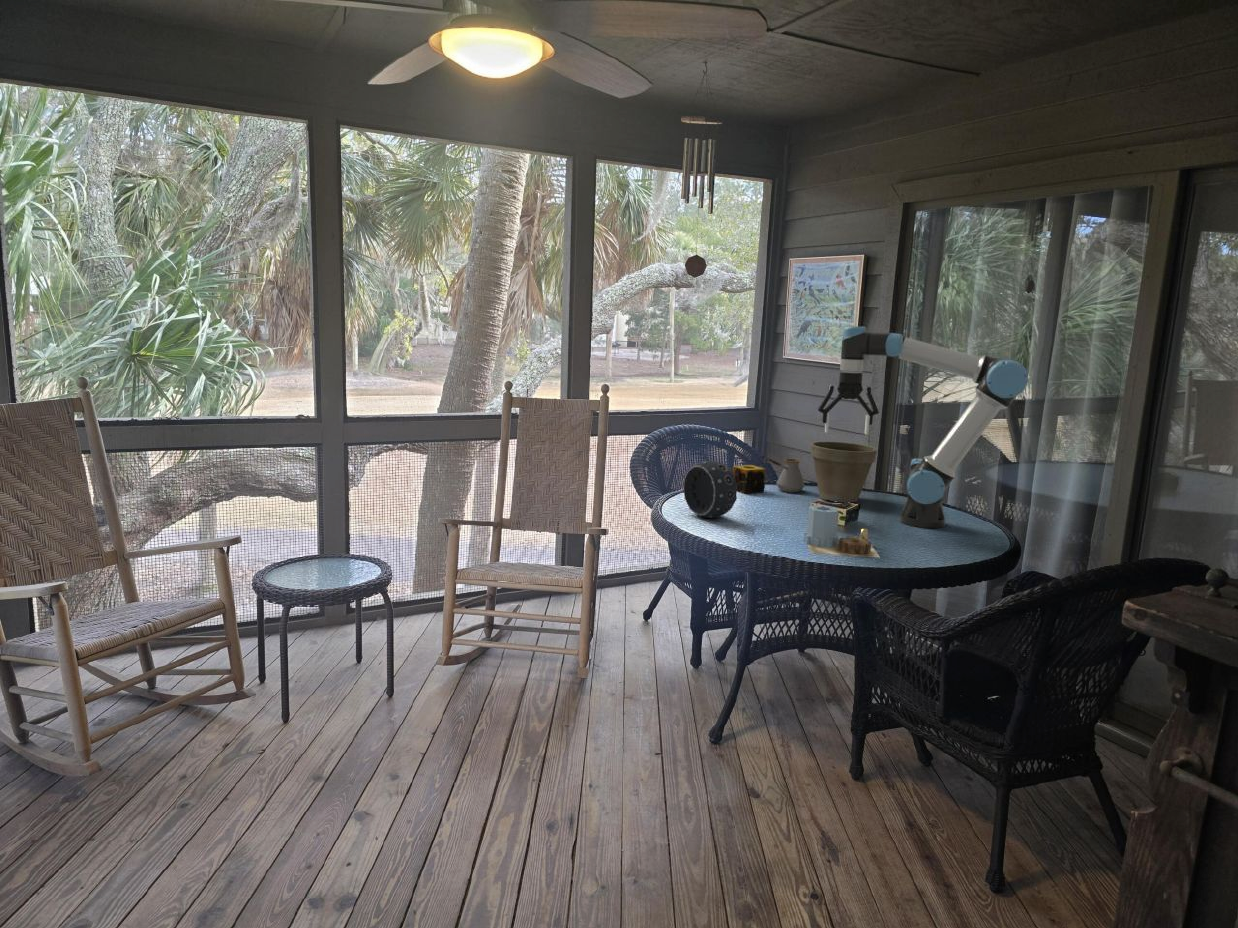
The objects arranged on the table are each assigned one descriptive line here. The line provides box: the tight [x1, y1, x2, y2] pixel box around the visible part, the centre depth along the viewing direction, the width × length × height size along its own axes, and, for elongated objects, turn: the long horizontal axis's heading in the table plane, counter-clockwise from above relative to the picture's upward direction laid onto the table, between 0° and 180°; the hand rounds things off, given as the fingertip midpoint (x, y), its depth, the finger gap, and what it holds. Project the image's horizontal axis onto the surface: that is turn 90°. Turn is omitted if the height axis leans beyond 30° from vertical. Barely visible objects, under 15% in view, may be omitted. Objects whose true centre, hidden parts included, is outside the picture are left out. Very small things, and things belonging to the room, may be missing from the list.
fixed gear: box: [838, 535, 872, 555], centre depth 243 cm, size 9×9×4 cm
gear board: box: [806, 543, 881, 559], centre depth 246 cm, size 20×17×2 cm
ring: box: [682, 460, 738, 519], centre depth 283 cm, size 11×20×20 cm, turn 33°
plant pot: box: [810, 441, 878, 503], centre depth 318 cm, size 25×25×22 cm
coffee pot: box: [763, 457, 805, 493], centre depth 329 cm, size 21×12×15 cm, turn 125°
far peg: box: [859, 527, 869, 540], centre depth 249 cm, size 2×2×5 cm
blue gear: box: [803, 504, 840, 548], centre depth 249 cm, size 10×10×11 cm
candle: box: [732, 464, 767, 495], centre depth 329 cm, size 10×10×10 cm
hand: (846, 433), depth 278 cm, fingers open, 13 cm apart
